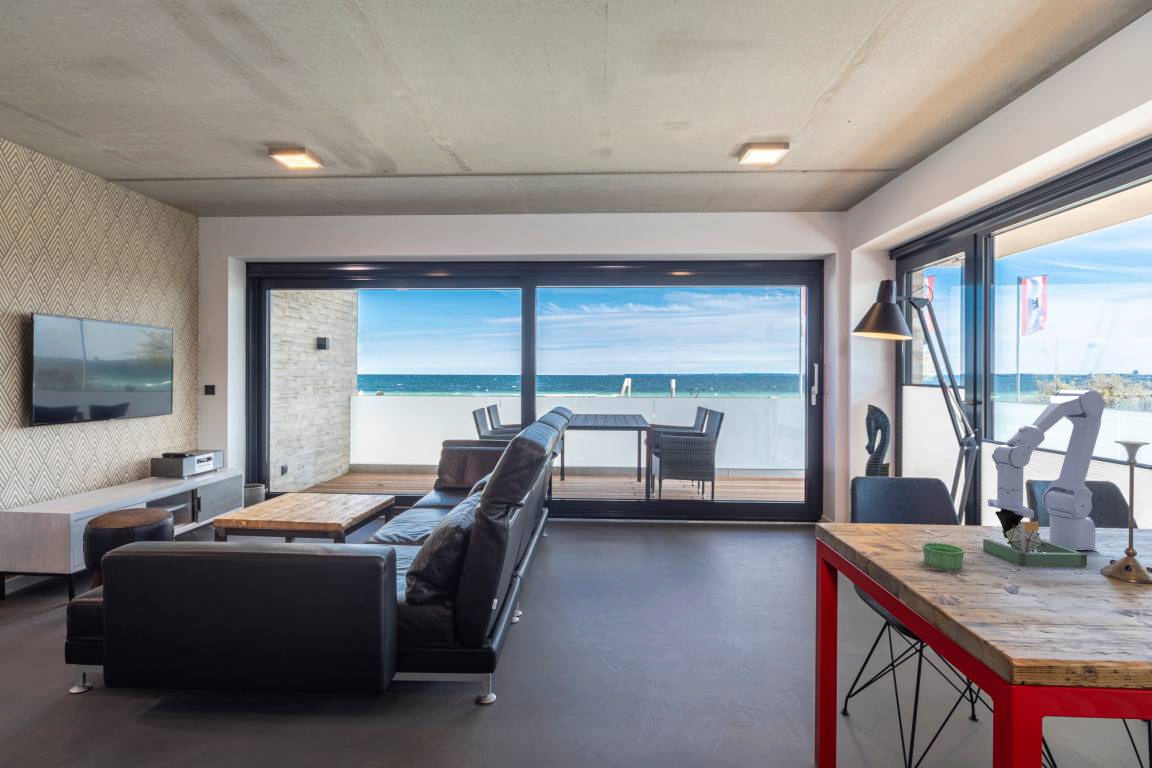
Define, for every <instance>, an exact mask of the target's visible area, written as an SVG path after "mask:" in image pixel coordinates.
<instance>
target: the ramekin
mask: <svg viewBox="0 0 1152 768" xmlns="http://www.w3.org/2000/svg"><path fill="white" fill-rule="evenodd" d="M921 548H922V549H923V561H924V562H925V564H926V565H929V566H931V567H935V568H939V569H943V568H944V570H959V568H960V569H962V567H963V562H964V561H963V560H964V555H965V549H964V548H962V547H959V546H957V545H953V544H949V543H948V544H947V543H942V542H924V543H922V547H921Z"/></svg>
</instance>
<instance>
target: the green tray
mask: <svg viewBox="0 0 1152 768" xmlns="http://www.w3.org/2000/svg"><path fill="white" fill-rule="evenodd" d="M1020 522H1021V551H1019V550H1016V549H1014V548H1012V547H1011V546H1008V545H1006V544H1002V543H1000V542H997V541H996V540H993V539H990V538H983V541H982V545H983V546H982V549H984V550H983V551H985V550H986V552H987V551H988V553H990V552H991V553H990V554H992V553H993V555H995V556H997V555H998V556H997V557H999V556H1000V558H1001V559H1002V558H1003V559H1005V560H1006V559H1007V560H1006V561H1008V562H1009V561H1010V562H1011V561H1012V562H1011V563H1013V562H1014V564H1016V563H1017V564H1016V565H1018V564H1019V566H1020V567H1066V566H1087V567H1088V555H1087V554H1086V553H1084V552H1082V551H1075V550H1072V549H1069V548H1066V547H1063V546H1060V545H1057V544H1054V543H1052V542H1049V541H1050V540H1046V539H1041V538H1040V540H1041V542H1042V544H1045V545H1046V546H1043V545H1042V546H1040V547H1038V548H1036V551H1037V550H1040V551H1043V552H1046V553H1043V552H1040V551H1039V552H1032V551H1031V552H1025V531H1037V532H1039V530H1040V529H1039V528H1040V525H1039V521H1024V520H1021V521H1020Z"/></svg>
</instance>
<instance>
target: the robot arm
mask: <svg viewBox="0 0 1152 768" xmlns="http://www.w3.org/2000/svg"><path fill="white" fill-rule="evenodd" d="M1048 400H1049V401H1048V402H1049V404H1048V405H1047V407H1046V408H1045V409H1044V410H1043V411H1042V412H1041V413H1040V414H1039V416H1038V417H1037V418H1036V419H1035V421H1034V422H1032V424H1031V425H1023V426H1021V427H1019V428H1018V431H1017V432H1015V434H1014V435H1013V436H1011V438H1010V439H1009V440H1007V442H1006V443H1005V444H1001V445H999V446H997V447H995V449H994V451H993V453H992V454H991V458H992V460H993V462H994V463H995V464H994V465H995V469H996V471H997V477H996V478H997V479H996V481H997V482H996V483H997V484H996V486H997V487H996V488H997V489H996V491H997V493H996V495H997V496H996V499H994V498H993V499H992V498H991V499H989V498H988V499H987V506H988V507H990V508H996V509H1000V510H997V511H995V515H996V516H997V518H998V520H999V522H1000V526H1001V527H1002V531H1005V532H1006V531H1008V530H1010V529H1012V528H1013V525H1015V526H1017V525H1019V521H1020V522H1021V521H1023V519H1024V518H1026V519H1029V518H1030V519H1033V518H1034V517H1035V515H1034V513H1035V511H1034V510H1032V509H1031V508H1028V507H1027V506H1025V505H1024V467H1026V466H1027V465H1028V464H1029V463H1030V460H1031V456H1032V453H1033V451H1035V450H1036V449H1037V448H1038V447H1039V446H1040V445H1041V444H1042V443H1043V442H1044V441H1045V440H1046V439H1045V437H1046V436H1045V433H1046V432H1047V431H1048V430H1050V429H1051V428H1052V427H1054V426H1055V425H1056V424H1057V423H1059V421H1060V420H1062V419H1063V418H1064V417H1065V418H1066V419H1067V420H1068V421H1070V422H1071V424H1072V425H1073V428H1072V430H1071V435H1070V438H1069V441H1068V445H1067V448H1066V451H1065V456H1064V459H1063V462H1062V466H1061V470H1060V474H1059V477H1058V478H1057V479H1054V480H1053V481H1051V482H1049V483H1048V486H1047V489H1046V490H1045V491H1044V493H1043V494H1042V496H1041V502H1042V505H1043V507H1044V508H1045V509H1046V512H1047V513H1048V514H1049V540H1048V541H1049V542H1052V543H1054V544H1057V545H1060V546H1063V547H1066V548H1069V549H1072V550H1098V548H1096V525H1095V522H1094V521H1093V519H1092V518H1091V517H1089V514H1090V513H1091V511H1092V509H1093V503H1092V498H1093V492H1092V491H1091V490H1090V489H1089V488H1088V487H1087V486H1086V485H1085V482H1086V479H1087V476H1088V471H1089V468H1090V464H1091V461H1092V459H1093V454H1094V451H1095V448H1096V443H1097V440H1098V436H1099V432H1100V429H1101V426H1102V416H1103V413H1104V409H1105V405H1106V401H1105V399H1104V398H1103V396H1102V395H1101V393H1100V392H1099V391H1097V390H1094V389H1089V390H1073V389H1072V390H1070V389H1059V390H1057V391H1055V392H1054V394H1053V395H1051V397H1049V399H1048ZM1002 533H1003V532H1002ZM1003 537H1004V538H1005V539H1008V538H1007V536H1006V534H1005V533H1003ZM1098 551H1099V550H1098Z"/></svg>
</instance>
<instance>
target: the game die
mask: <svg viewBox="0 0 1152 768" xmlns="http://www.w3.org/2000/svg"><path fill="white" fill-rule="evenodd" d="M1001 533H1005V534H1006V536H1007V538H1006V539H1007V540H1008V541H1007V542H1006V543H1007V544H1008V545H1009V544H1010V547H1011V548H1014V549H1016V550H1019V551H1021V521H1019V525H1017V526H1015V525H1013V528H1012V529H1010V530H1008V531H1006V532H1005V531H1003V530H1002V531H1001ZM1040 539H1041V538H1040V533H1039V532H1038V531H1025V552H1032V553H1035V550H1037V548H1038V547H1040V546H1042V545H1043V546H1046V545H1045V544H1042V542H1041V540H1040Z"/></svg>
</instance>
